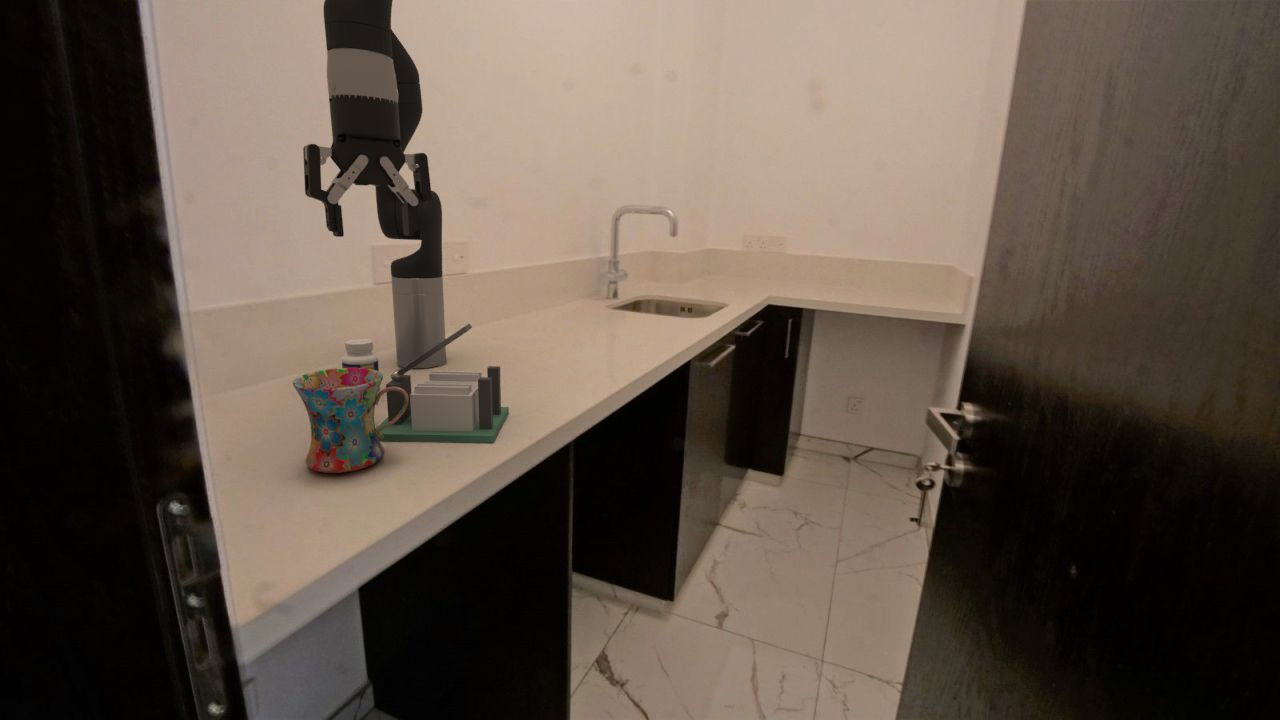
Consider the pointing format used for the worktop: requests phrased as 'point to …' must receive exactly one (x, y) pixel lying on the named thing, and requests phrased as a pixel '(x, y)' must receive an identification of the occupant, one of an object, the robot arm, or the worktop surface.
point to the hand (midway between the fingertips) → (374, 236)
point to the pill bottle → (360, 355)
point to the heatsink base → (447, 408)
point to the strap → (429, 353)
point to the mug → (343, 417)
